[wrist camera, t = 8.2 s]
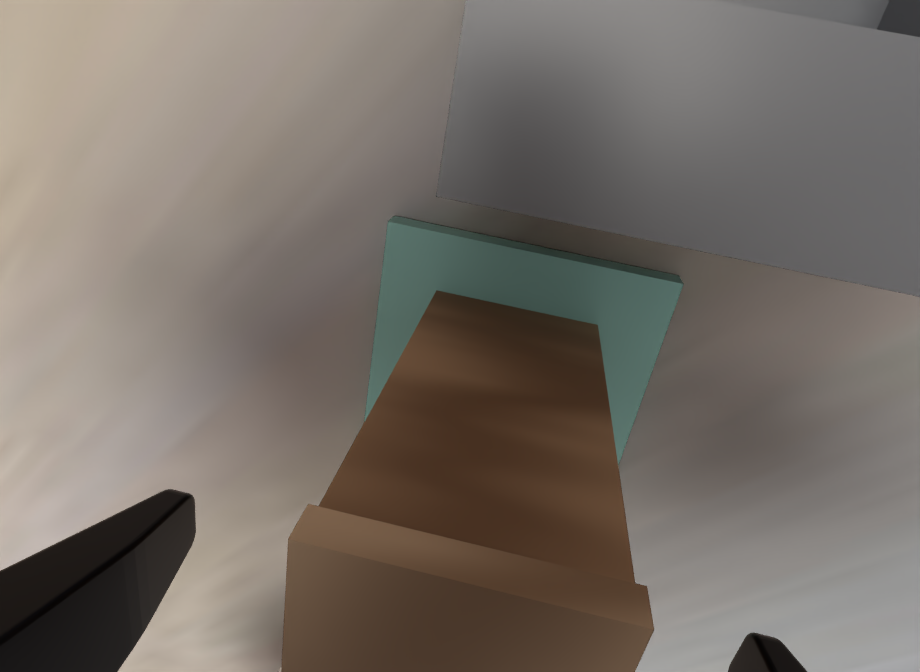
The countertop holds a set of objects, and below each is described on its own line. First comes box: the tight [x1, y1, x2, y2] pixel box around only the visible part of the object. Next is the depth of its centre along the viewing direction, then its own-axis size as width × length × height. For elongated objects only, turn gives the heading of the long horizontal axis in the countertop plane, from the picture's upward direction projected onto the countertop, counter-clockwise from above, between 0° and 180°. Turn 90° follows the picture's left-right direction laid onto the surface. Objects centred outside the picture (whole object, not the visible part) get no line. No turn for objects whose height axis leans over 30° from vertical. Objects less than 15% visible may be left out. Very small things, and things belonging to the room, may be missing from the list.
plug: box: [281, 290, 654, 672], centre depth 11 cm, size 4×4×9 cm
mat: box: [364, 216, 683, 465], centre depth 16 cm, size 7×7×1 cm
